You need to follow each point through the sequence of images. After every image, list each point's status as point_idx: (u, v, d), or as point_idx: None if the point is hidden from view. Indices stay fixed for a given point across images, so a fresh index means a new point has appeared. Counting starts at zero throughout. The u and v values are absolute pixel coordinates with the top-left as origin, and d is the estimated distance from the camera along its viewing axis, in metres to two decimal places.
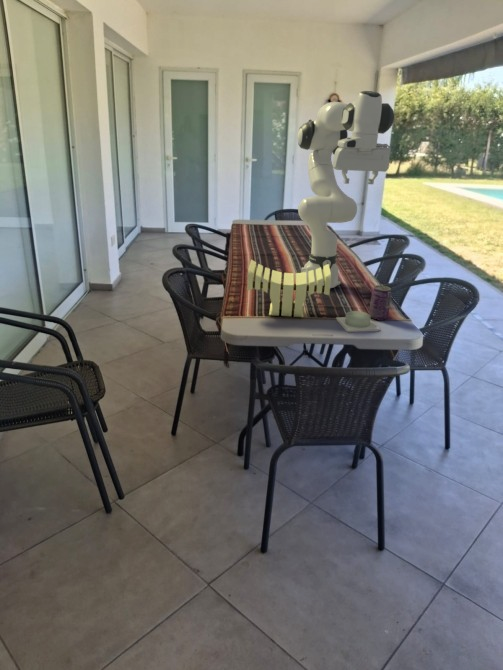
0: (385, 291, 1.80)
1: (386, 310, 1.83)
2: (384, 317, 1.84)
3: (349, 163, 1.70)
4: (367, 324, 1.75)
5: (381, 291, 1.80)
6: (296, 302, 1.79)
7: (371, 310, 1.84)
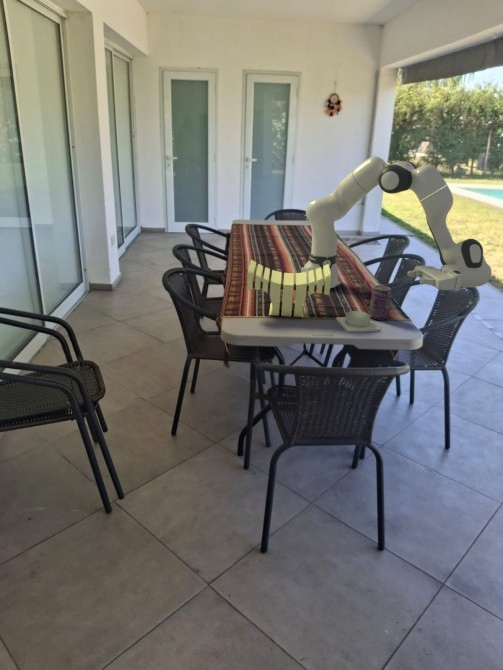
0: (385, 291, 1.80)
1: (386, 310, 1.83)
2: (384, 317, 1.84)
3: None
4: (367, 324, 1.75)
5: (381, 291, 1.80)
6: (296, 302, 1.79)
7: (371, 310, 1.84)
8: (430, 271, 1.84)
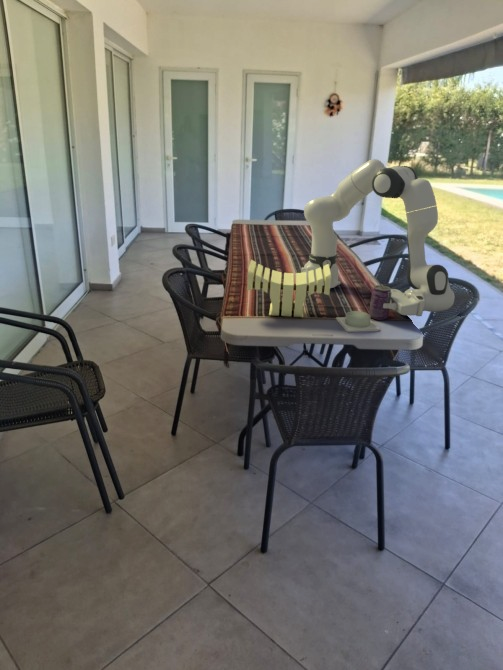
0: (385, 291, 1.80)
1: (386, 310, 1.83)
2: (384, 317, 1.84)
3: None
4: (367, 324, 1.75)
5: (381, 291, 1.80)
6: (296, 302, 1.79)
7: (371, 310, 1.84)
8: (394, 295, 1.86)
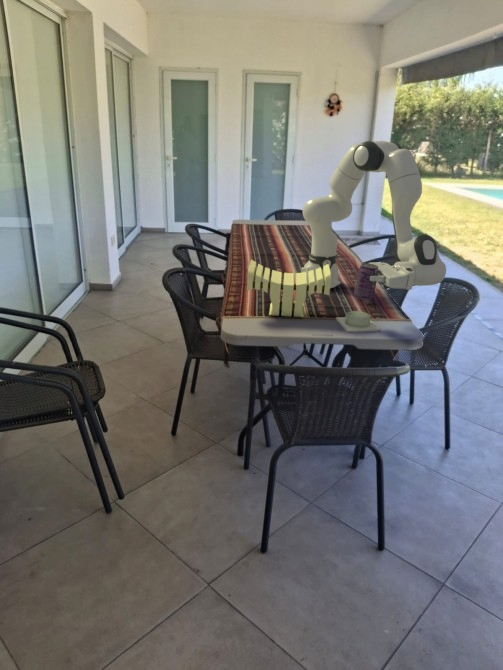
0: (372, 269, 1.69)
1: (372, 289, 1.72)
2: (369, 297, 1.73)
3: None
4: (367, 324, 1.75)
5: (368, 268, 1.69)
6: (296, 302, 1.79)
7: (356, 289, 1.74)
8: (382, 268, 1.74)
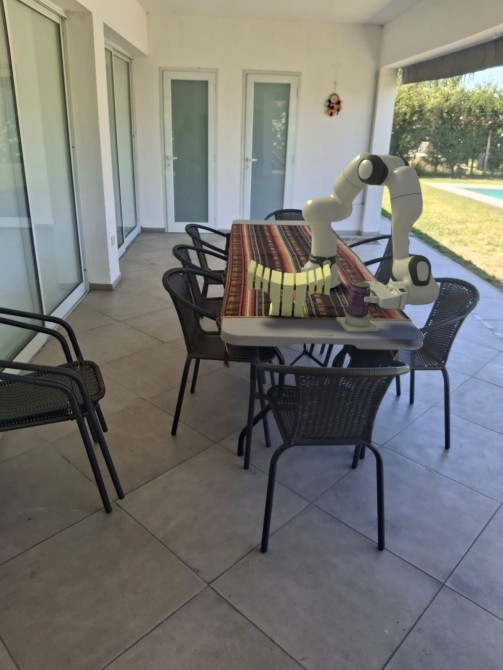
0: (364, 287, 1.71)
1: (365, 307, 1.74)
2: (363, 314, 1.74)
3: None
4: (367, 324, 1.75)
5: (360, 287, 1.71)
6: (296, 302, 1.79)
7: (350, 307, 1.75)
8: (376, 288, 1.76)
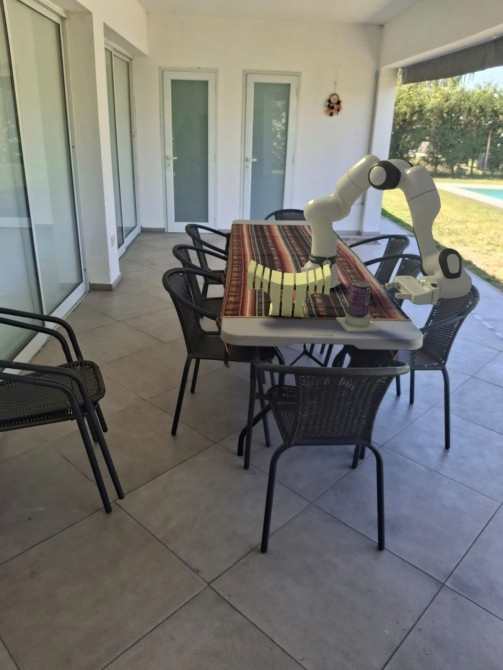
0: (364, 287, 1.71)
1: (365, 307, 1.74)
2: (363, 314, 1.74)
3: None
4: (367, 324, 1.75)
5: (360, 287, 1.71)
6: (296, 302, 1.79)
7: (350, 307, 1.75)
8: (407, 283, 1.78)
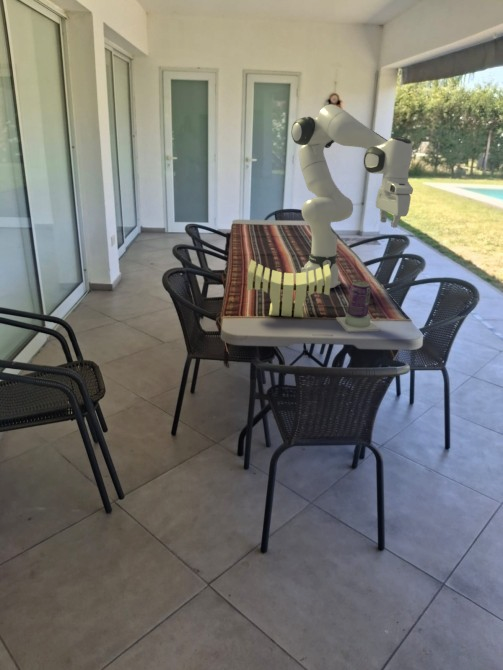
0: (364, 287, 1.71)
1: (365, 307, 1.74)
2: (363, 314, 1.74)
3: None
4: (367, 324, 1.75)
5: (360, 287, 1.71)
6: (296, 302, 1.79)
7: (350, 307, 1.75)
8: (385, 205, 1.78)
